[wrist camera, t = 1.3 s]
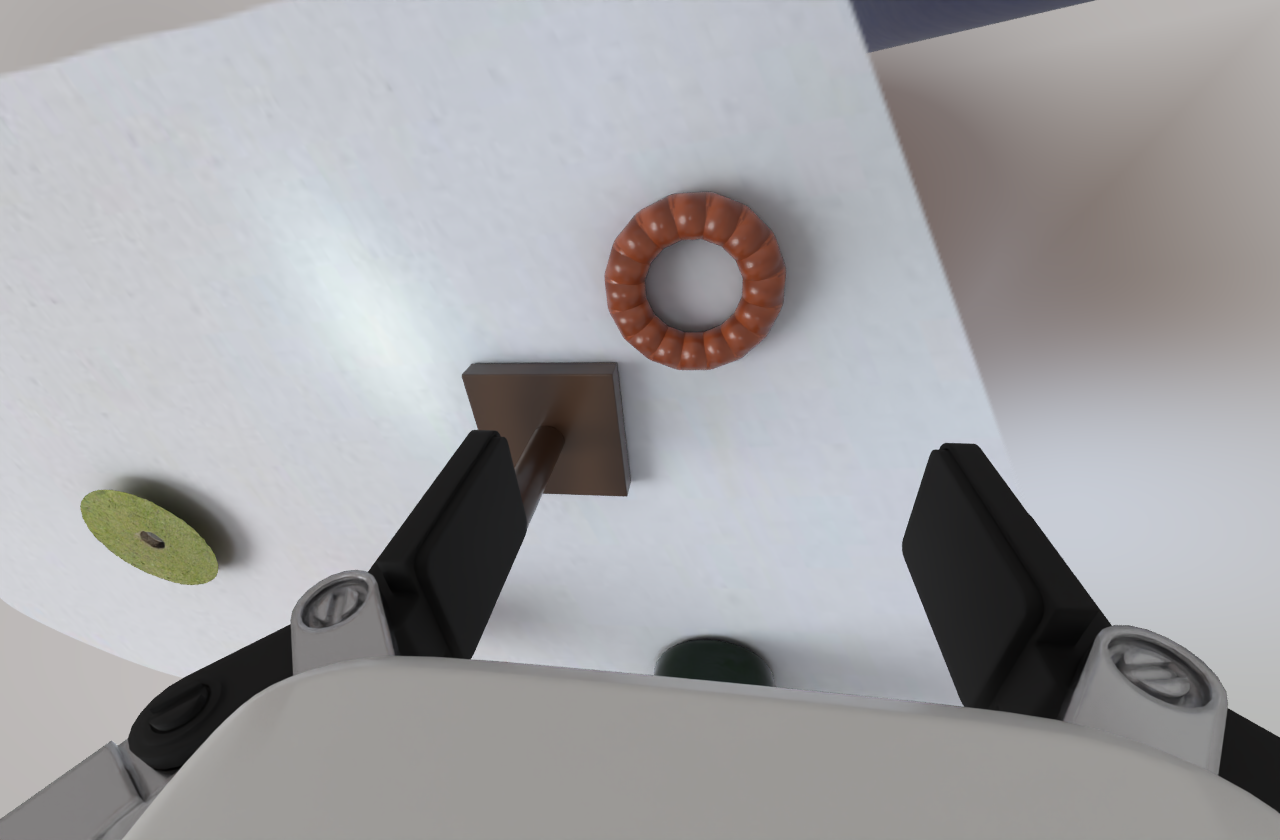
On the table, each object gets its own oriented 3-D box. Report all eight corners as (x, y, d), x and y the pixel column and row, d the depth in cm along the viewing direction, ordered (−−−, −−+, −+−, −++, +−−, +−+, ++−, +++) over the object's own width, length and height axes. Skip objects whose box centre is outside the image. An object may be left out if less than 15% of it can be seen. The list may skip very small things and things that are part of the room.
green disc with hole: (75, 468, 41) (49, 484, 40) (197, 482, 40) (175, 499, 39) (148, 560, 48) (128, 577, 46) (255, 575, 46) (238, 592, 45)
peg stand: (617, 362, 29) (577, 464, 21) (631, 482, 34) (603, 601, 26) (471, 363, 30) (383, 459, 22) (504, 478, 35) (442, 590, 27)
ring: (790, 183, 23) (795, 190, 21) (776, 358, 27) (779, 376, 26) (599, 195, 24) (590, 202, 22) (618, 360, 29) (612, 376, 27)
